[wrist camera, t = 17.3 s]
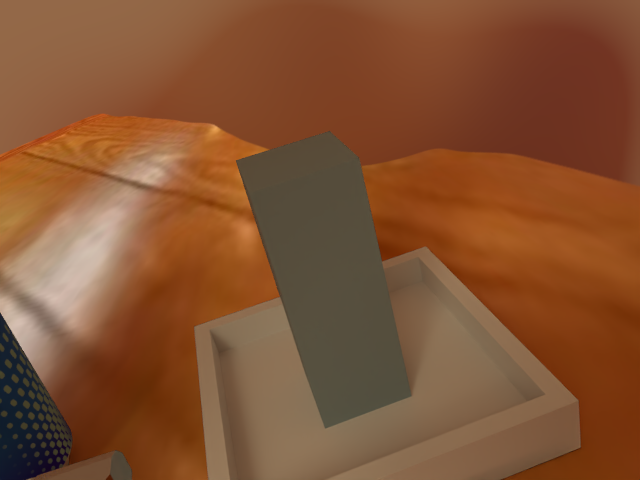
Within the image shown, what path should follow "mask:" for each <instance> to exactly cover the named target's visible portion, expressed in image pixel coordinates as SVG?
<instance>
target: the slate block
mask: <svg viewBox="0 0 640 480" xmlns="http://www.w3.org/2000/svg"><path fill="white" fill-rule="evenodd" d="M236 163H237V166H238V169H239V172H240V175H241V178H242V181H243V184H244V187H245V190H246V193H247V196H248V199H249V203H250V206H251V209H252V212H253V215H254V218H255V221H256V224H257V227H258V230H259V233H260V236H261V239H262V243H263V246H264V249H265V252H266V255H267V258H268V261H269V264H270V267H271V270H272V273H273V276H274V279H275V283H276V286H277V289H278V292H279V295H280V298H281V301H282V304H283V307H284V310H285V313H286V316H287V319H288V322H289V326H290V329H291V332H292V335H293V338H294V341H295V344H296V347H297V350H298V353H299V356H300V359H301V362H302V366H303V369H304V372H305V375H306V377H307V380H308V383H309V386H310V388H311V391H312V394H313V397H314V399H315V402H316V405H317V408H318V410H319V413H320V416H321V419H322V422H323V424H324V427H325V429H326V428H328V427H331V426H334V425H336V424H339V423H342V422H344V421H347V420H350V419H352V418H355V417H358V416H360V415H363V414H366V413H368V412H371V411H374V410H376V409H379V408H382V407H384V406H387V405H390V404H392V403H395V402H398V401H400V400H403V399H406V398H408V397H411V396H412V395H411V391H410V386H409V382H408V377H407V373H406V368H405V364H404V359H403V355H402V350H401V345H400V341H399V336H398V332H397V327H396V323H395V318H394V314H393V309H392V305H391V300H390V296H389V291H388V287H387V282H386V278H385V273H384V268H383V264H382V259H381V255H380V250H379V246H378V241H377V237H376V232H375V228H374V223H373V219H372V214H371V210H370V205H369V200H368V196H367V191H366V187H365V182H364V178H363V173H362V169H361V164H360V160H359V157H358V156H356V155H355V154H354V153H353V152H352V151H351V150H350V149H349V148H348V147H347V146H346V145H344V144H343V143H342V142H341V141H340V140H339V139H337V138H336V136H334V135H333V134H332V133H331V132H330V131H329V132H325V133H322V134H319V135H316V136H313V137H310V138H306V139H304V140H300V141H297V142H294V143H290V144H287V145H284V146H281V147H278V148H274V149H271V150H268V151H265V152H262V153H258V154H255V155H252V156H249V157H246V158H242V159H239V160H236Z"/></svg>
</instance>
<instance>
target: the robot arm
mask: <svg viewBox="0 0 640 480" xmlns="http://www.w3.org/2000/svg"><path fill="white" fill-rule="evenodd" d="M27 480H132V469H131V468H130V466H129V464H128V462H127V461H126V459H125V457H124V455H123V453H122V452H119V451H116V450H115V451H112V452H109V453H105V454H102V455H99V456H96V457H93V458H90V459H87V460H84V461H81V462H78V463H74V464H71V465H68V466H65V467H62V468H59V469H56V470H53V471H50V472H47V473H43V474H40V475H37V476H36V477H34V478H30V479H27Z"/></svg>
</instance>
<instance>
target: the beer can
mask: <svg viewBox="0 0 640 480" xmlns="http://www.w3.org/2000/svg"><path fill="white" fill-rule="evenodd" d="M71 448H72V433H71V430H70V428H69V426H68V425H67V423H66V421H65V420H64V418H63V416H62V415H61V413H60V411H59V410H58V408H57V406H56V405H55V403H54V401H53V400H52V398H51V396H50V395H49V393H48V391H47V390H46V388H45V386H44V385H43V383H42V381H41V380H40V378H39V376H38V375H37V373H36V371H35V370H34V368H33V366H32V365H31V363H30V361H29V360H28V358H27V356H26V355H25V353H24V351H23V350H22V348H21V346H20V345H19V343H18V341H17V340H16V338H15V336H14V335H13V333H12V331H11V330H10V328H9V326H8V325H7V323H6V321H5V320H4V318H3V316H2V315H1V313H0V480H27V479H30V478H34V477H36V476H37V475H40V474H43V473H47V472H50V471H53V470H56V469H59V468H62V467H65V466H68V465H69V455H70V452H71Z"/></svg>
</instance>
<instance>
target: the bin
mask: <svg viewBox="0 0 640 480" xmlns="http://www.w3.org/2000/svg"><path fill="white" fill-rule="evenodd" d="M382 264H383V268H384V273H385V278H386V282H387V287H388V291H389V296H390V300H391V305H392V309H393V314H394V318H395V323H396V327H397V332H398V336H399V341H400V345H401V350H402V355H403V359H404V364H405V368H406V373H407V377H408V382H409V386H410V391H411V395H412V396H411V397H408V398H406V399H403V400H400V401H398V402H395V403H392V404H390V405H387V406H384V407H382V408H379V409H376V410H374V411H371V412H368V413H366V414H363V415H360V416H358V417H355V418H352V419H350V420H347V421H344V422H342V423H339V424H336V425H334V426H331V427H328V428H326V429H325V427H324V424H323V422H322V419H321V416H320V413H319V410H318V408H317V405H316V402H315V399H314V397H313V394H312V391H311V388H310V386H309V383H308V380H307V377H306V375H305V372H304V369H303V366H302V362H301V359H300V356H299V353H298V350H297V347H296V344H295V341H294V338H293V335H292V332H291V329H290V326H289V322H288V319H287V316H286V313H285V310H284V307H283V304H282V301H281V298H280V297H278V298H275V299H272V300H269V301H266V302H264V303H261V304H258V305H255V306H252V307H249V308H246V309H243V310H240V311H238V312H235V313H232V314H229V315H226V316H223V317H220V318H217V319H214V320H211V321H209V322H206V323H203V324H200V325H197V326H194V331H195V342H196V352H197V363H198V374H199V385H200V395H201V406H202V417H203V427H204V438H205V449H206V460H207V470H208V480H501V479H504V478H506V477H509V476H511V475H514V474H516V473H519V472H521V471H524V470H526V469H529V468H531V467H533V466H536V465H538V464H541V463H543V462H546V461H548V460H551V459H553V458H556V457H558V456H561V455H563V454H566V453H568V452H571V451H573V450H576V449H578V448H581V440H580V418H579V400H578V399H577V398H576V397H575V396H574V395H573V394H572V393H571V392H570V391H569V390H568V389H567V388H566V387H565V386H564V385H563V384H562V383H561V382H560V381H559V380H558V379H557V378H556V377H555V376H554V375H553V374H552V373H551V372H550V371H549V370H548V369H547V368H546V367H545V366H544V365H543V364H542V363H541V362H540V361H539V360H538V359H537V358H536V357H535V356H534V355H533V354H532V353H531V352H530V351H529V350H528V349H527V348H526V347H525V346H524V345H523V344H522V343H521V342H520V341H519V340H518V339H517V338H516V337H515V336H514V335H513V334H512V333H511V332H510V331H509V330H508V329H507V328H506V327H505V326H504V325H503V324H502V323H501V322H500V321H499V320H498V319H497V318H496V317H495V316H494V315H493V314H492V313H491V312H490V311H489V310H488V309H487V308H486V307H485V306H484V305H483V304H482V303H481V302H480V301H479V300H478V299H477V298H476V297H475V296H474V294H473V293H472V292H471V291H470V290H469V289H468V288H467V287H466V286H465V285H464V284H463V283H462V282H461V281H460V280H459V279H458V278H457V277H456V276H455V275H454V274H453V273H452V272H451V271H450V270H449V269H448V268H447V267H446V266H445V265H444V264H443V263H442V262H441V261H440V260H439V259H438V258H437V257H436V256H435V255H434V254H433V253H432V252H431V251H430V250H429V249H428V248H427V247H423V248H420V249H417V250H414V251H411V252H408V253H405V254H403V255H400V256H397V257H394V258H391V259H388V260H385V261H382Z"/></svg>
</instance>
